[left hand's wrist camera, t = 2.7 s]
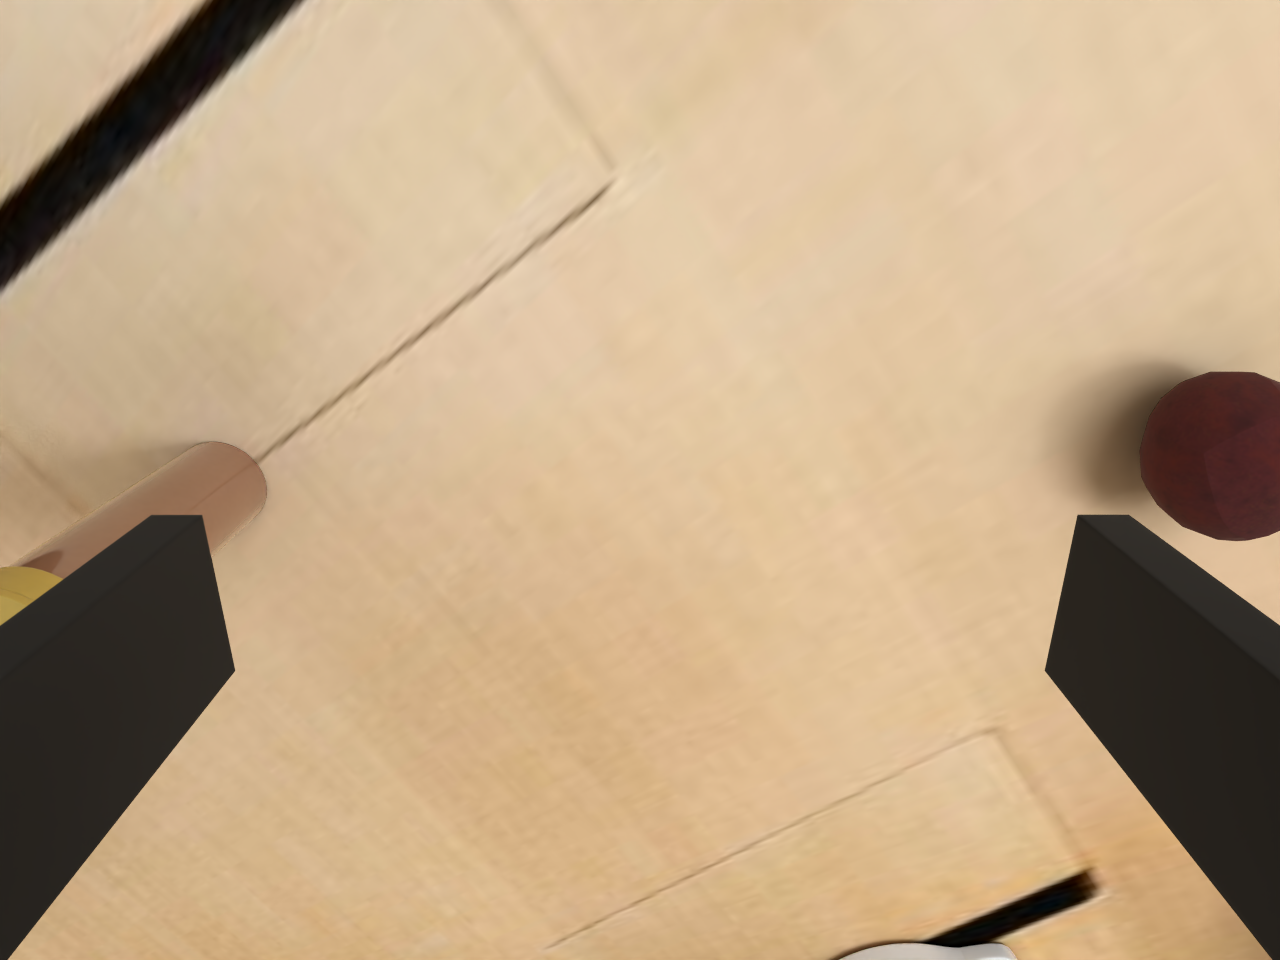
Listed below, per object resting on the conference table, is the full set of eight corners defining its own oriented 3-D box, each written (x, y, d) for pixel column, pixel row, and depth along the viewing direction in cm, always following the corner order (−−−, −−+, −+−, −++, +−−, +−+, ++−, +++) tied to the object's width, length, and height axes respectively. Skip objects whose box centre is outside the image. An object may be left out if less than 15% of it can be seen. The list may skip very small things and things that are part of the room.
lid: (-43, 666, 30) (-85, 698, 28) (-35, 546, 28) (-80, 572, 26) (102, 705, 30) (68, 739, 29) (117, 590, 29) (83, 619, 27)
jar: (170, 509, 43) (-67, 686, 28) (182, 429, 41) (-62, 574, 27) (258, 536, 43) (70, 723, 29) (274, 458, 42) (84, 616, 27)
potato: (1142, 526, 43) (1233, 593, 36) (1083, 406, 40) (1169, 455, 34) (1282, 452, 41) (1404, 508, 35) (1230, 323, 39) (1350, 356, 32)
